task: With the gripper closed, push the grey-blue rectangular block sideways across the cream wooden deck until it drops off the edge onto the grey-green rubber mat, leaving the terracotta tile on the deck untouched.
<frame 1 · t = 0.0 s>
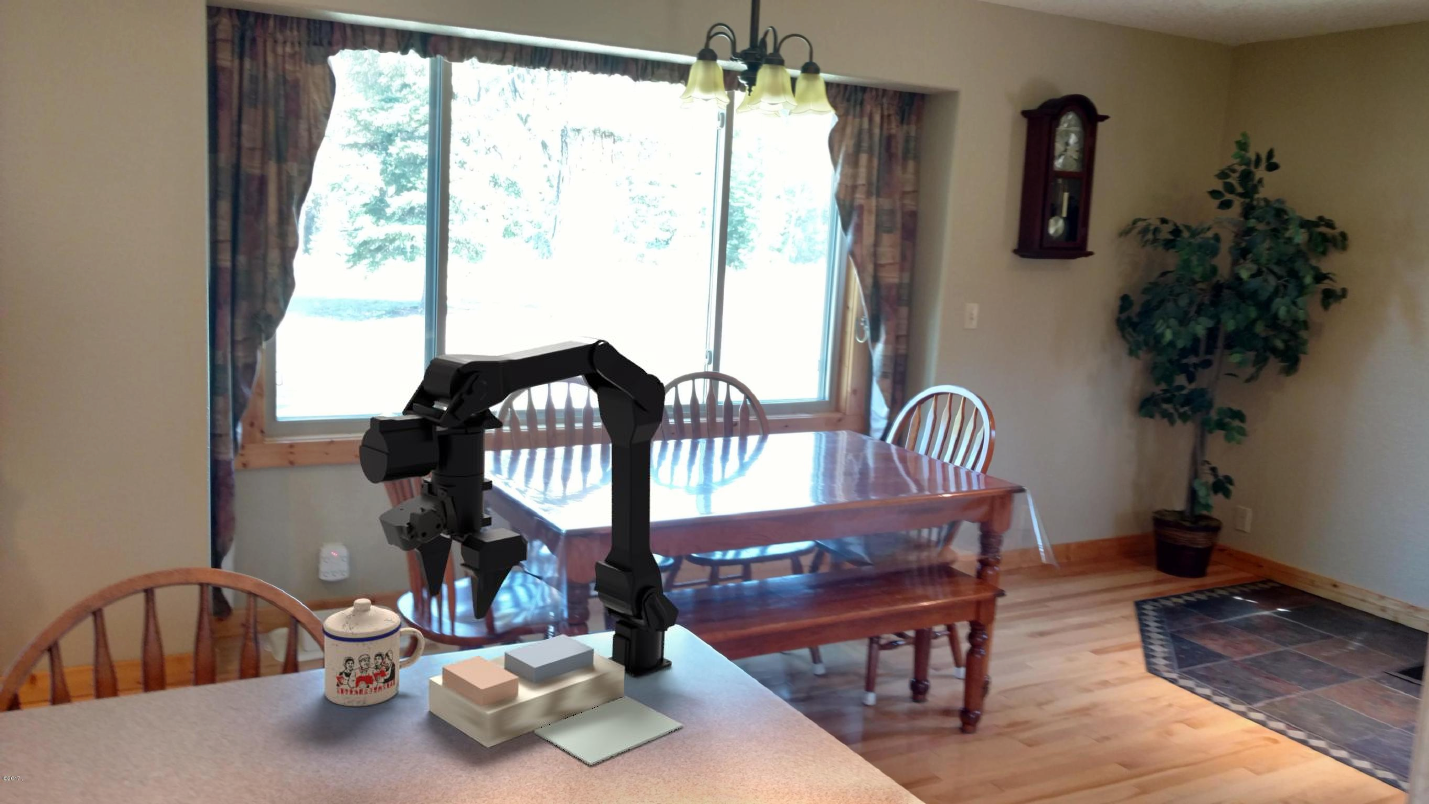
hand: (456, 606, 120), 15 cm above the kitchen counter, tool pointing down, fingers open, 9 cm apart
teacup with lid: (374, 691, 132), on the kitchen counter
mat: (609, 729, 124), on the kitchen counter
grey-blue rectangular block: (549, 665, 132), point 4 cm above the kitchen counter, touching deck
deck: (528, 703, 130), on the kitchen counter
terracotta tile: (480, 688, 124), point 4 cm above the kitchen counter, touching deck
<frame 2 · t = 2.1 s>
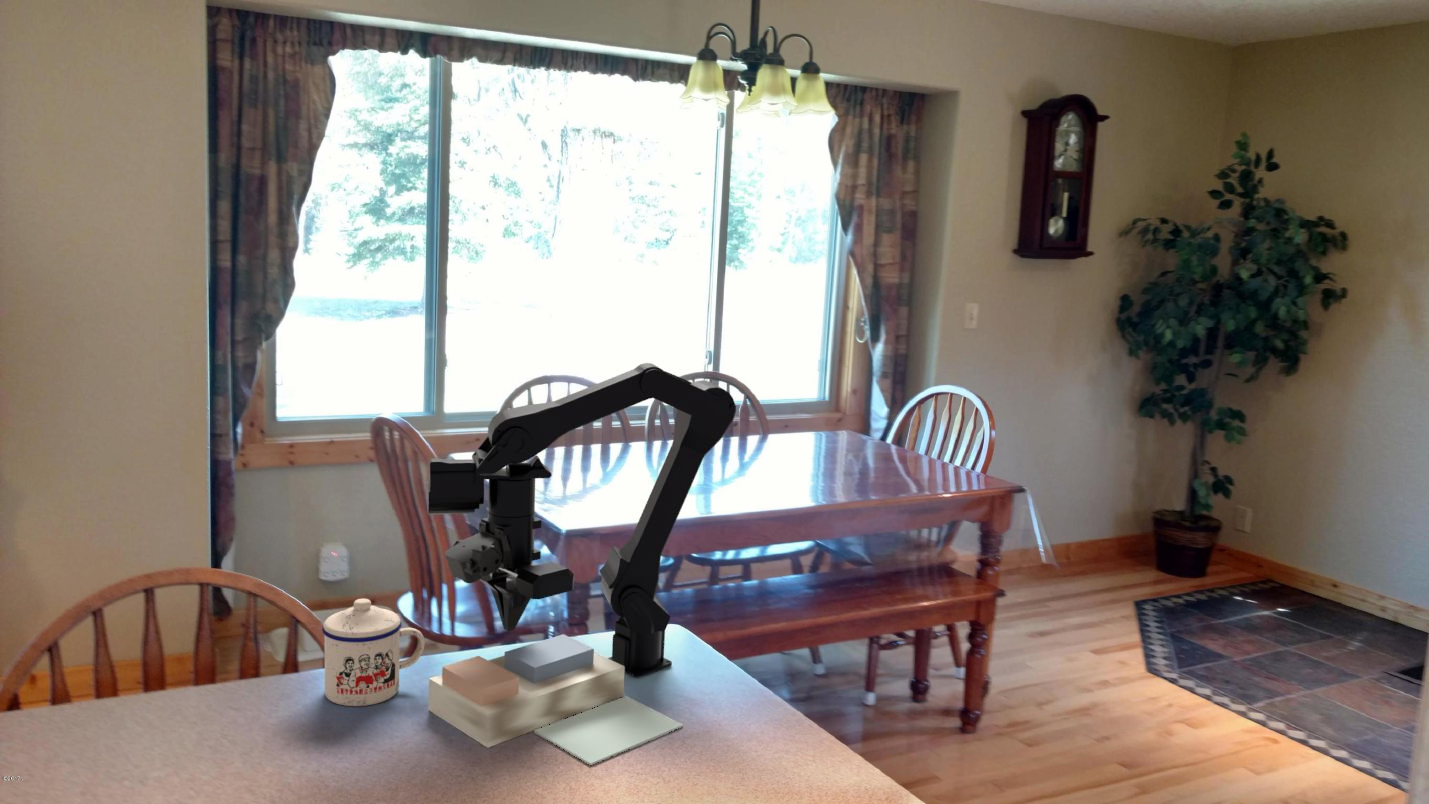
hand: (509, 630, 137), 6 cm above the kitchen counter, tool pointing down, fingers closed
nothing on the kitchen counter moved.
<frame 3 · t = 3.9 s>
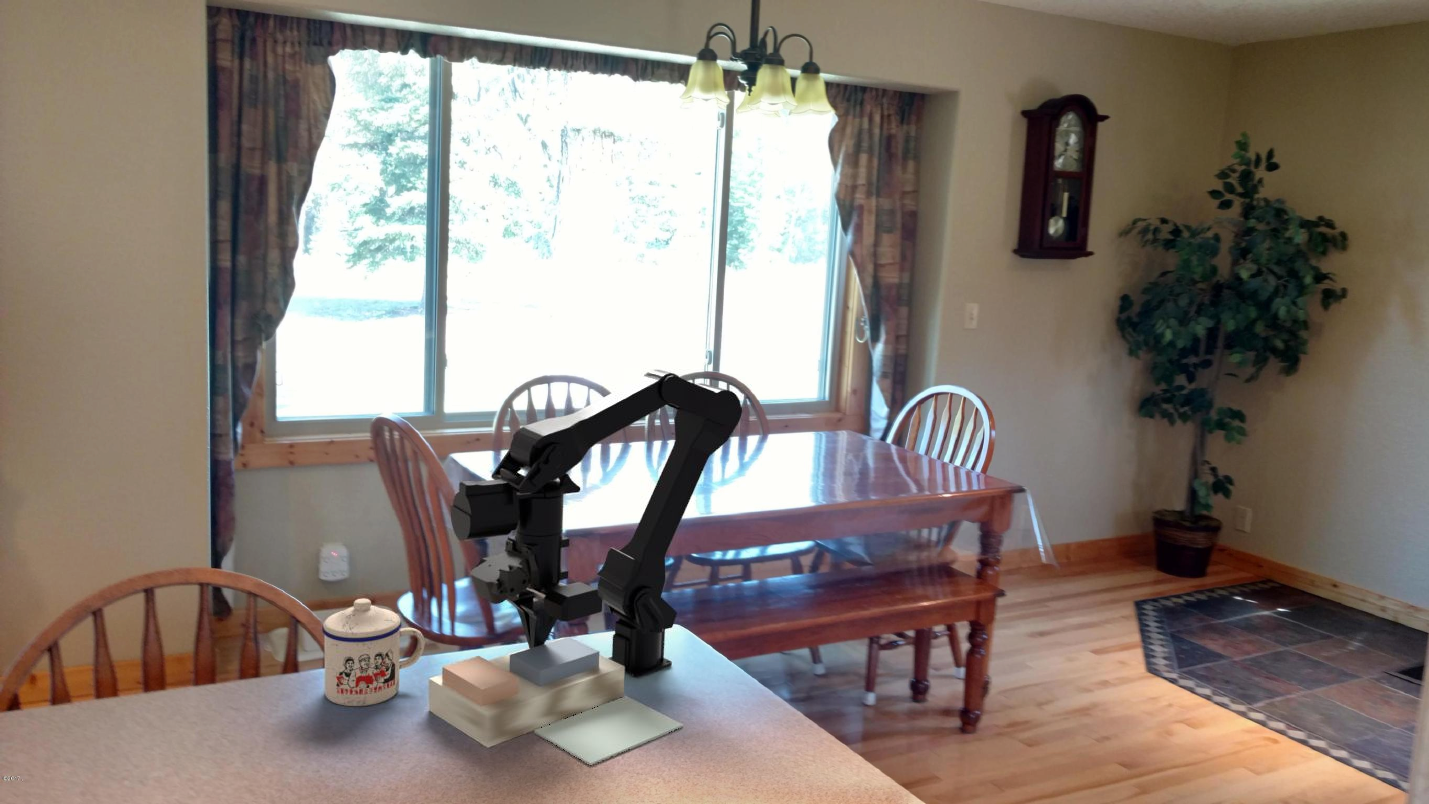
hand: (535, 651, 133), 5 cm above the kitchen counter, tool pointing down, fingers closed
grey-blue rectangular block: (554, 668, 131), point 4 cm above the kitchen counter, touching deck, gripper
everything else where it was.
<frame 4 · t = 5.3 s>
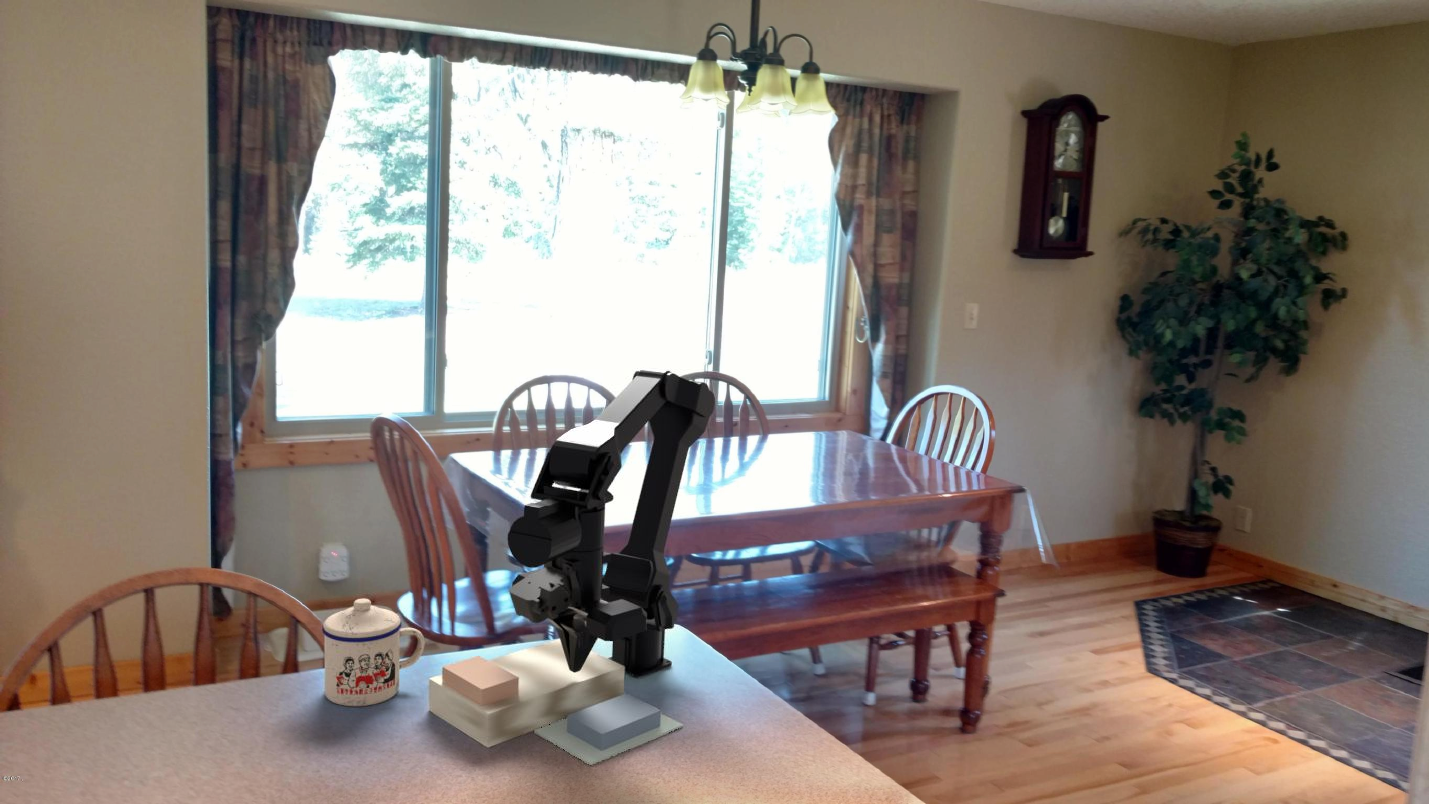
hand: (575, 671, 128), 5 cm above the kitchen counter, tool pointing down, fingers closed
grey-blue rectangular block: (614, 712, 124), point 2 cm above the kitchen counter, tilted 180°, touching mat
everything else where it was.
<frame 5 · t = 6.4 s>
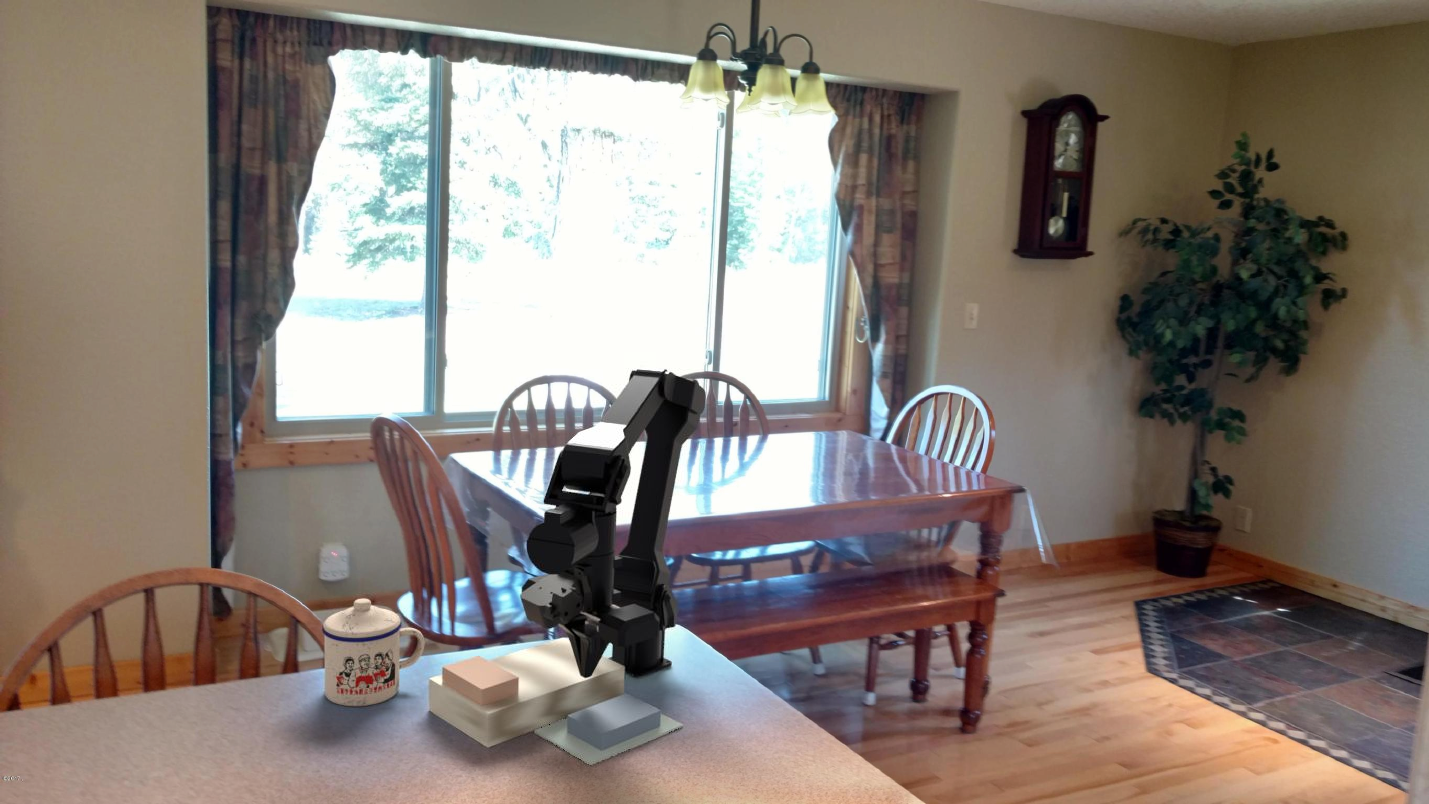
hand: (586, 676, 127), 5 cm above the kitchen counter, tool pointing down, fingers closed
nothing on the kitchen counter moved.
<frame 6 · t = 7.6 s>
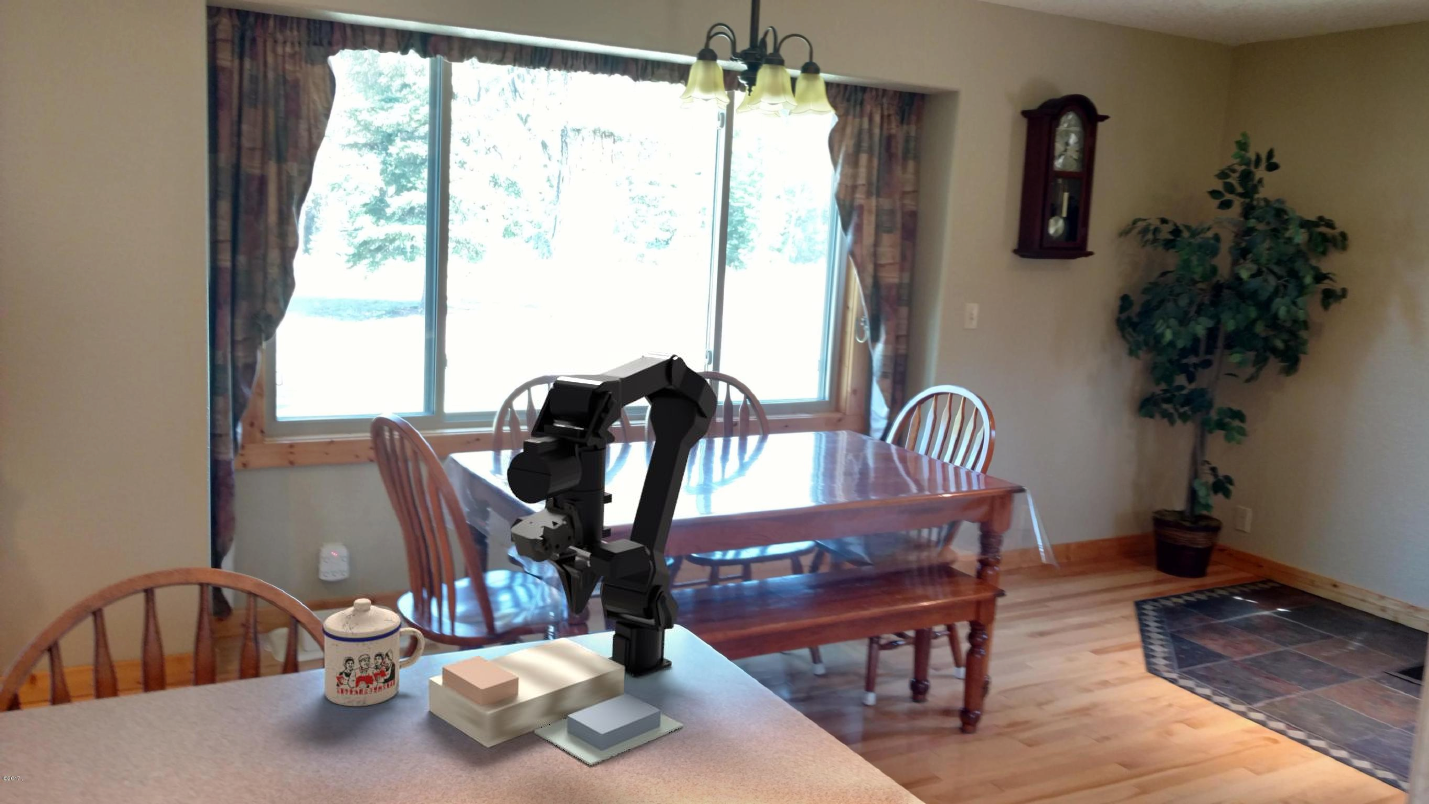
hand: (576, 613, 127), 12 cm above the kitchen counter, tool pointing down, fingers closed
nothing on the kitchen counter moved.
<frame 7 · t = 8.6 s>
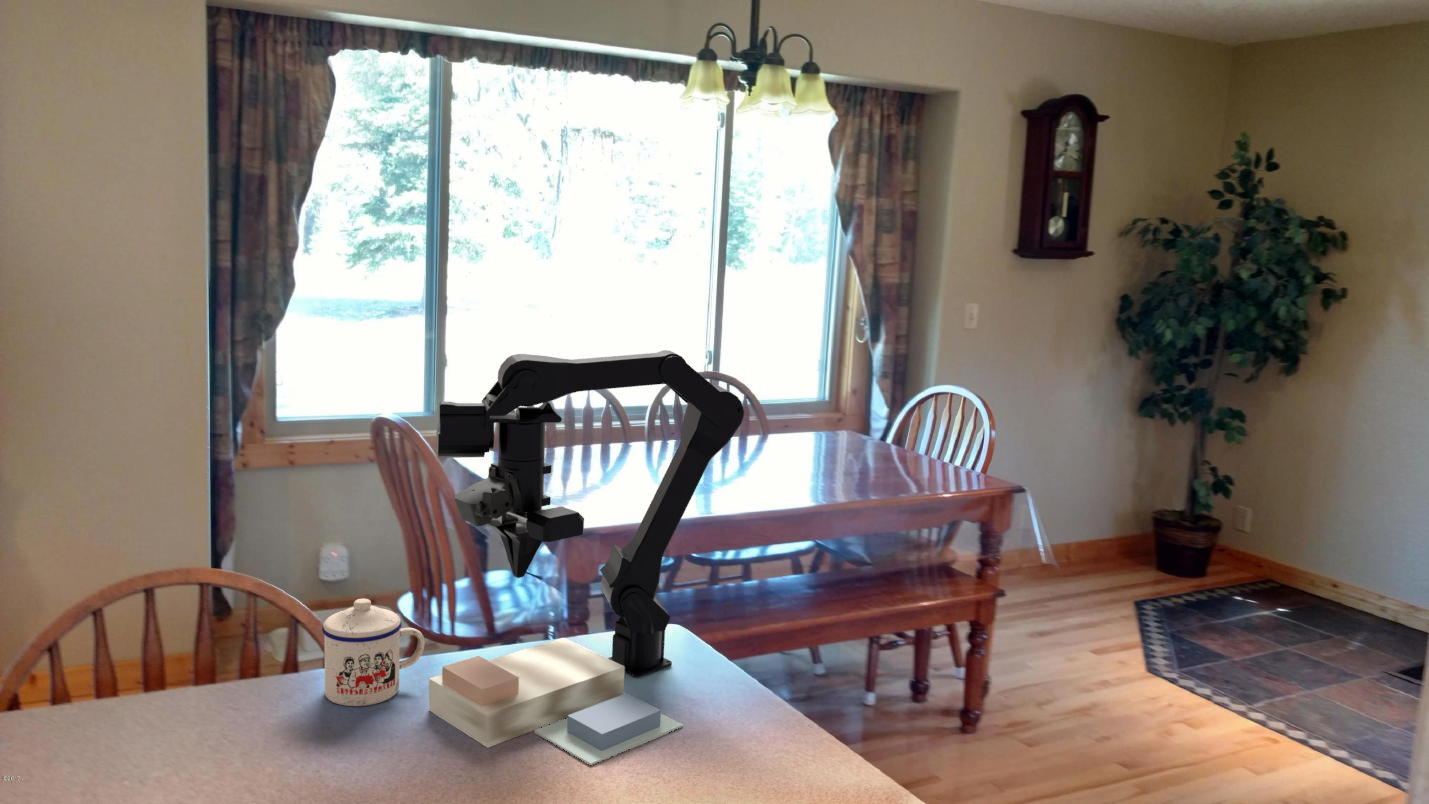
hand: (518, 576, 136), 13 cm above the kitchen counter, tool pointing down, fingers closed
nothing on the kitchen counter moved.
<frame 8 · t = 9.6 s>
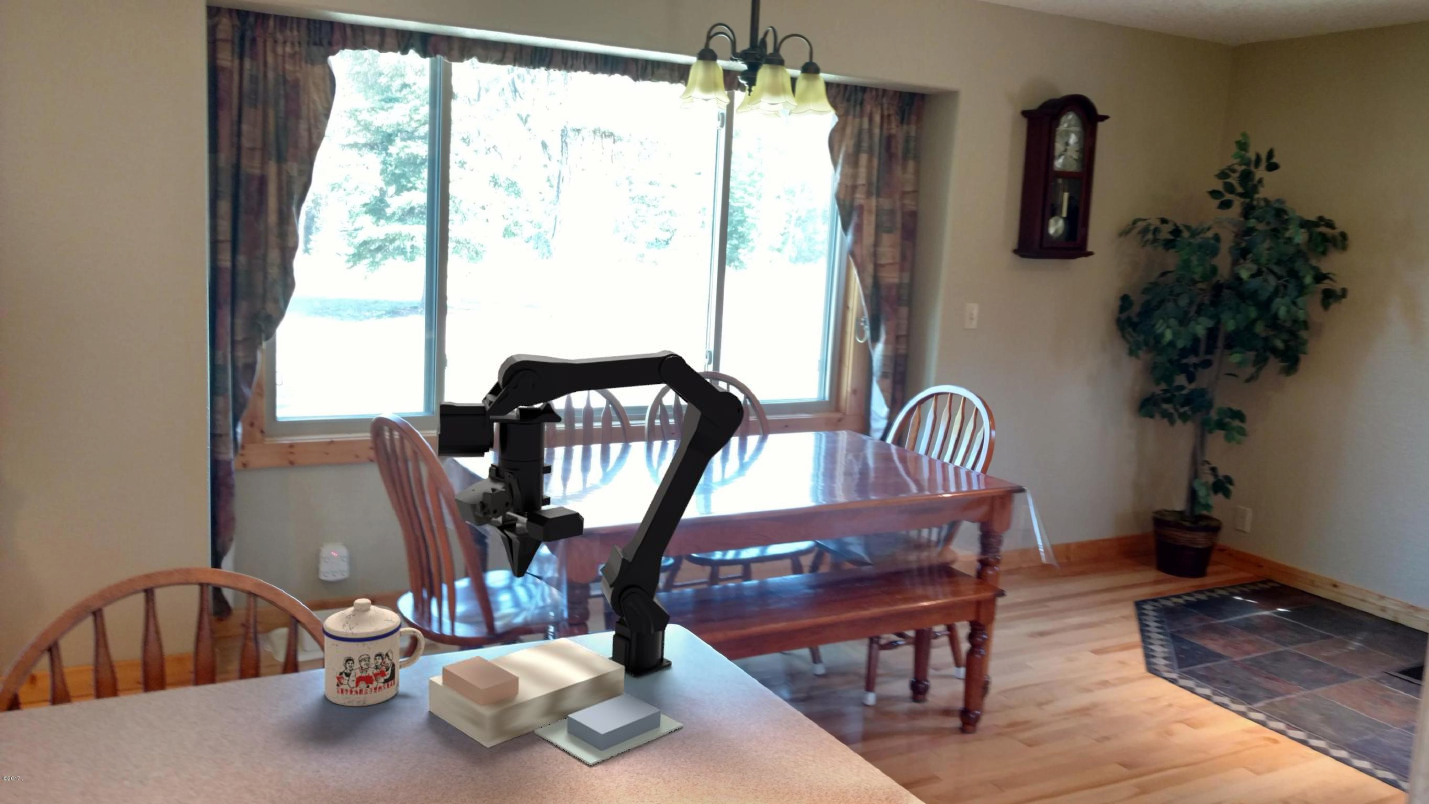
hand: (518, 576, 136), 13 cm above the kitchen counter, tool pointing down, fingers closed
nothing on the kitchen counter moved.
at the end: grey-blue rectangular block point 2.3 cm above the kitchen counter; grey-blue rectangular block inside the target area on the mat (0.6 cm from its centre), point 2.3 cm above the mat's base; terracotta tile moved 0.0 cm from its start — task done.
